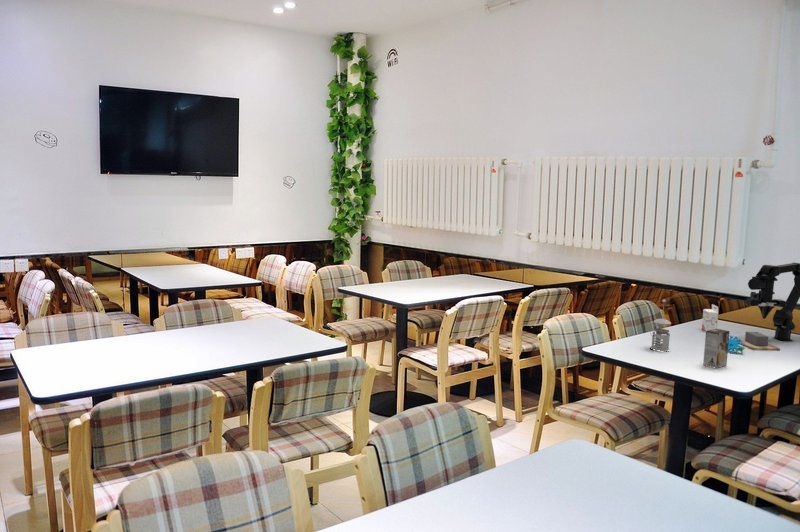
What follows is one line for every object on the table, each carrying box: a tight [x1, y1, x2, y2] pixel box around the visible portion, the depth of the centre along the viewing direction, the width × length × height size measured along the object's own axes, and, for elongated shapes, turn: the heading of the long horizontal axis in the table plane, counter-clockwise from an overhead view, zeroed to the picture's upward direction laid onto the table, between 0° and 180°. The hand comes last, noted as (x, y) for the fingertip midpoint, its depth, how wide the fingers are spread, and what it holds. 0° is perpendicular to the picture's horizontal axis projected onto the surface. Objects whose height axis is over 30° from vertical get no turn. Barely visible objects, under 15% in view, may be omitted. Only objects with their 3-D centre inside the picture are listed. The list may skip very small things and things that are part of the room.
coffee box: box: [702, 328, 730, 369], centre depth 294 cm, size 9×6×16 cm
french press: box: [649, 299, 672, 351], centre depth 320 cm, size 10×12×25 cm
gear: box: [728, 335, 746, 354], centre depth 320 cm, size 11×6×10 cm
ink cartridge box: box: [701, 303, 719, 332], centre depth 362 cm, size 9×5×15 cm, turn 179°
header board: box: [735, 338, 781, 352], centre depth 334 cm, size 14×18×4 cm
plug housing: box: [744, 331, 770, 346], centre depth 333 cm, size 6×10×5 cm, turn 2°
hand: (763, 318), depth 342 cm, fingers closed
